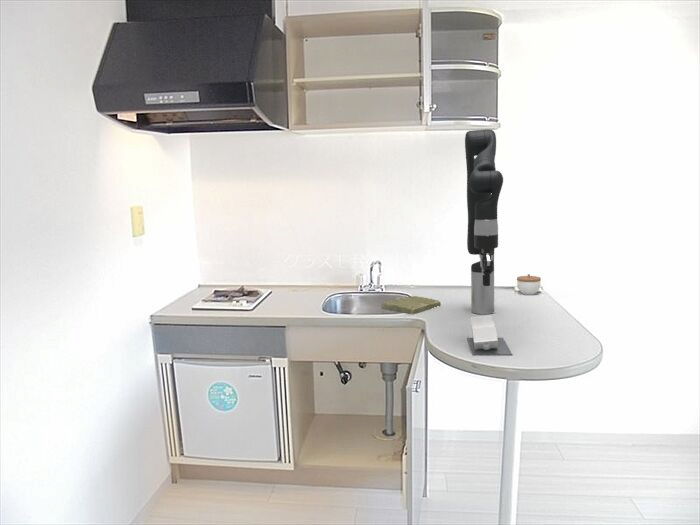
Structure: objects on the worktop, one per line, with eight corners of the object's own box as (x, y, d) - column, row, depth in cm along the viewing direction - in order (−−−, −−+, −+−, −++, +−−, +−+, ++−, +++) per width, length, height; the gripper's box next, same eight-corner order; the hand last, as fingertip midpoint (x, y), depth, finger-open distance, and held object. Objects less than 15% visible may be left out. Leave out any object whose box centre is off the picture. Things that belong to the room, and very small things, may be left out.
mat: (467, 338, 177) (466, 337, 177) (502, 338, 175) (502, 337, 175) (472, 355, 159) (472, 354, 159) (512, 355, 158) (512, 354, 158)
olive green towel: (441, 307, 228) (441, 299, 227) (412, 316, 214) (412, 307, 213) (408, 301, 241) (408, 294, 240) (379, 309, 227) (379, 302, 227)
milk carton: (470, 316, 177) (472, 331, 159) (491, 314, 176) (496, 329, 157) (472, 336, 178) (475, 353, 159) (493, 334, 176) (499, 351, 158)
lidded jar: (519, 296, 241) (519, 276, 240) (514, 291, 252) (515, 272, 250) (543, 295, 240) (543, 276, 238) (537, 291, 250) (537, 272, 249)
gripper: (472, 231, 174) (472, 282, 176) (476, 235, 161) (476, 289, 163) (494, 231, 173) (495, 281, 175) (501, 234, 160) (501, 289, 162)
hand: (486, 285), depth 169 cm, fingers closed
